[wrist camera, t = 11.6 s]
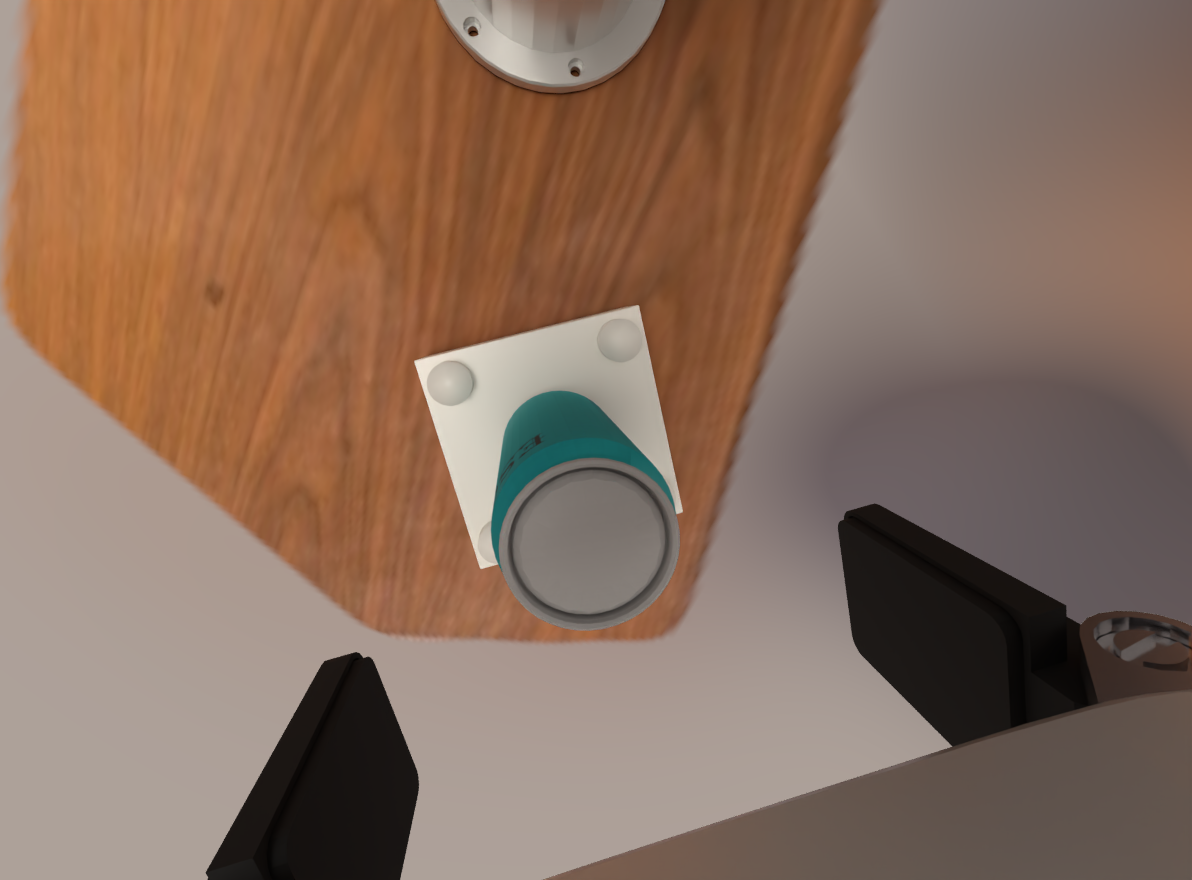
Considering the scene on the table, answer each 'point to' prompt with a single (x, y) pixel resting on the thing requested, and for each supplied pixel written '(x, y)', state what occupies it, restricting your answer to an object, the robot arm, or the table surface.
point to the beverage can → (580, 516)
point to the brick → (528, 368)
